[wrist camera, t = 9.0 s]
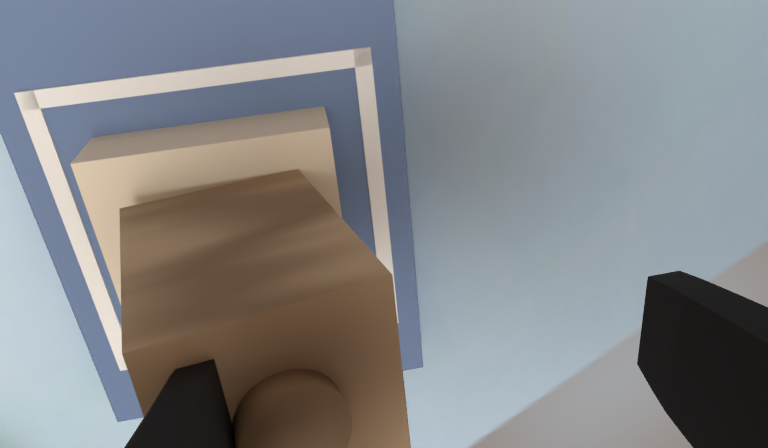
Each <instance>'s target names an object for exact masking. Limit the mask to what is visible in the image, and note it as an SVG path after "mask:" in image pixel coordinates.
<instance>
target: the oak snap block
mask: <svg viewBox="0 0 768 448" xmlns="http://www.w3.org/2000/svg"><path fill="white" fill-rule="evenodd" d="M119 211H120V270H121V329H122V355H123V358H124V361H125V364H126V367H127V370H128V373H129V375H130V378H131V381H132V384H133V387H134V390H135V393H136V396H137V399H138V402H139V404H140V407H141V410H142V413H143V416H144V417H145V415H146V414H147V412H148V411H149V409H150V408H151V406H152V404H153V403H154V401H155V399H156V398H157V396H158V395H159V393H160V391H161V390H162V388H163V386H164V385H165V383H166V381H167V380H168V378H169V377H170V375H171V374H172V373H173V371H174V370H175V369H177V368H182V367H186V366H189V365H193V364H197V363H201V362H204V361H208V360H212V359H214V360H215V364H216V367H217V371H218V374H219V378H220V382H221V385H222V389H223V392H224V396H225V399H226V403H227V407H228V410H229V414H230V417H231V421H232V426H233V435H234V440H235V445H236V448H411V445H410V436H409V427H408V417H407V408H406V398H405V389H404V380H403V370H402V361H401V351H400V342H399V333H398V323H397V314H396V304H395V295H394V285H393V276H392V274H391V273H390V271H389V270H388V269H387V268H386V267H385V266H384V265H383V264H382V262H381V261H380V260H379V259H378V258H377V257H376V256H375V255H374V254H373V252H372V251H371V250H370V249H369V248H368V247H367V246H366V245H365V243H364V242H363V241H362V240H361V239H360V238H359V237H358V236H357V234H356V233H355V232H354V231H353V230H352V229H351V228H350V227H349V226H348V224H347V223H346V222H345V221H344V220H343V219H342V218H341V217H340V215H339V214H338V213H337V212H336V211H335V210H334V209H333V208H332V206H331V205H330V204H329V203H328V202H327V201H326V200H325V199H324V198H323V196H322V195H321V194H320V193H319V192H318V191H317V190H316V189H315V187H314V186H313V185H312V184H311V183H310V182H309V181H308V180H307V178H306V177H305V176H304V175H303V174H302V173H301V172H300V171H299V170H298V169H296V170H290V171H285V172H281V173H276V174H272V175H267V176H263V177H258V178H254V179H249V180H245V181H240V182H236V183H231V184H227V185H223V186H218V187H214V188H209V189H205V190H200V191H196V192H191V193H187V194H182V195H178V196H173V197H169V198H164V199H160V200H155V201H151V202H146V203H142V204H137V205H133V206H128V207H124V208H119Z"/></svg>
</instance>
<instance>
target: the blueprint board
mask: <svg viewBox="0 0 768 448" xmlns="http://www.w3.org/2000/svg"><path fill="white" fill-rule="evenodd" d="M0 133H1V135H2V138H3V140H4V143H5V145H6V148H7V150H8V152H9V155H10V157H11V160H12V162H13V165H14V167H15V170H16V172H17V175H18V177H19V180H20V182H21V185H22V187H23V189H24V192H25V194H26V197H27V199H28V202H29V204H30V207H31V209H32V212H33V214H34V217H35V219H36V222H37V224H38V226H39V229H40V231H41V234H42V236H43V239H44V241H45V244H46V246H47V249H48V251H49V254H50V256H51V259H52V261H53V263H54V266H55V268H56V271H57V273H58V276H59V278H60V281H61V283H62V286H63V288H64V291H65V293H66V296H67V298H68V301H69V303H70V305H71V308H72V310H73V313H74V315H75V318H76V320H77V323H78V325H79V328H80V330H81V333H82V335H83V338H84V340H85V342H86V345H87V347H88V350H89V352H90V355H91V357H92V360H93V362H94V365H95V367H96V370H97V372H98V375H99V377H100V379H101V382H102V384H103V387H104V389H105V392H106V394H107V397H108V399H109V402H110V404H111V407H112V409H113V412H114V414H115V416H116V419H117V421H118V422H120V421H126V420H131V419H137V418H143V417H144V416H143V413H142V410H141V407H140V404H139V402H138V399H137V396H136V393H135V390H134V387H133V384H132V381H131V378H130V375H129V373H128V370H127V367H126V364H125V361H124V358H123V355H122V329H121V270H120V211H119V208H124V207H128V206H133V205H137V204H142V203H146V202H151V201H155V200H160V199H164V198H169V197H173V196H178V195H182V194H187V193H191V192H196V191H200V190H205V189H209V188H214V187H218V186H223V185H227V184H231V183H236V182H240V181H245V180H249V179H254V178H258V177H263V176H267V175H272V174H276V173H281V172H285V171H290V170H296V169H298V170H299V171H300V172H301V173H302V174H303V175H304V176H305V177H306V178H307V180H308V181H309V182H310V183H311V184H312V185H313V186H314V187H315V189H316V190H317V191H318V192H319V193H320V194H321V195H322V196H323V198H324V199H325V200H326V201H327V202H328V203H329V204H330V205H331V206H332V208H333V209H334V210H335V211H336V212H337V213H338V214H339V215H340V217H341V218H342V219H343V220H344V221H345V222H346V223H347V224H348V226H349V227H350V228H351V229H352V230H353V231H354V232H355V233H356V234H357V236H358V237H359V238H360V239H361V240H362V241H363V242H364V243H365V245H366V246H367V247H368V248H369V249H370V250H371V251H372V252H373V254H374V255H375V256H376V257H377V258H378V259H379V260H380V261H381V262H382V264H383V265H384V266H385V267H386V268H387V269H388V270H389V271H390V273H391V274H392V276H393V285H394V295H395V304H396V314H397V323H398V333H399V342H400V351H401V361H402V370H403V371H404V370H409V369H415V368H421V367H423V360H422V347H421V335H420V323H419V311H418V298H417V286H416V274H415V262H414V249H413V237H412V225H411V213H410V200H409V188H408V176H407V164H406V151H405V139H404V127H403V115H402V103H401V90H400V78H399V66H398V54H397V41H396V29H395V17H394V5H393V0H0Z"/></svg>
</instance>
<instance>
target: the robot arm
mask: <svg viewBox="0 0 768 448" xmlns="http://www.w3.org/2000/svg"><path fill="white" fill-rule="evenodd" d="M637 364H638V366H639V368H640V370H641V371H642V373H643V375H644V377H645V378H646V380H647V382H648V384H649V385H650V387H651V389H652V390H653V392H654V394H655V395H656V397H657V399H658V400H659V402H660V404H661V405H662V407H663V408H664V410H665V411H666V413H667V414H668V416H669V417H670V418H671V420H672V421H673V422H674V424H675V425H676V426H677V427H678V429H679V430H680V431H681V433H682V434H683V435H684V436H685V438H686V439H687V440H688V441H689V443H690V444H691V445H692V447H693V448H768V307H765V306H763V305H761V304H758V303H756V302H754V301H752V300H749V299H747V298H745V297H743V296H740V295H738V294H736V293H733V292H731V291H729V290H726V289H724V288H722V287H719V286H717V285H715V284H712V283H710V282H707V281H705V280H703V279H700V278H697V277H695V276H692V275H690V274H687V273H684V272H681V271H676V272H670V273H665V274H660V275H654V276H649V277H648V280H647V289H646V297H645V305H644V313H643V321H642V330H641V338H640V346H639V354H638V363H637ZM125 448H236V445H235V440H234V435H233V426H232V421H231V417H230V414H229V410H228V407H227V403H226V399H225V396H224V392H223V389H222V385H221V382H220V378H219V374H218V371H217V367H216V364H215V360H214V359H212V360H208V361H204V362H201V363H197V364H193V365H189V366H186V367H182V368H177V369H175V370H174V371H173V373H172V374H171V375H170V377H169V378H168V380H167V381H166V383H165V385H164V386H163V388H162V390H161V391H160V393H159V395H158V396H157V398H156V399H155V401H154V403H153V404H152V406H151V408H150V409H149V411H148V412H147V414H146V415H145V417H144V419H143V420H142V422H141V423H140V425H139V426H138V428H137V430H136V431H135V433H134V434H133V436H132V437H131V439H130V440H129V442H128V443H127V445H126V446H125Z"/></svg>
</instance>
